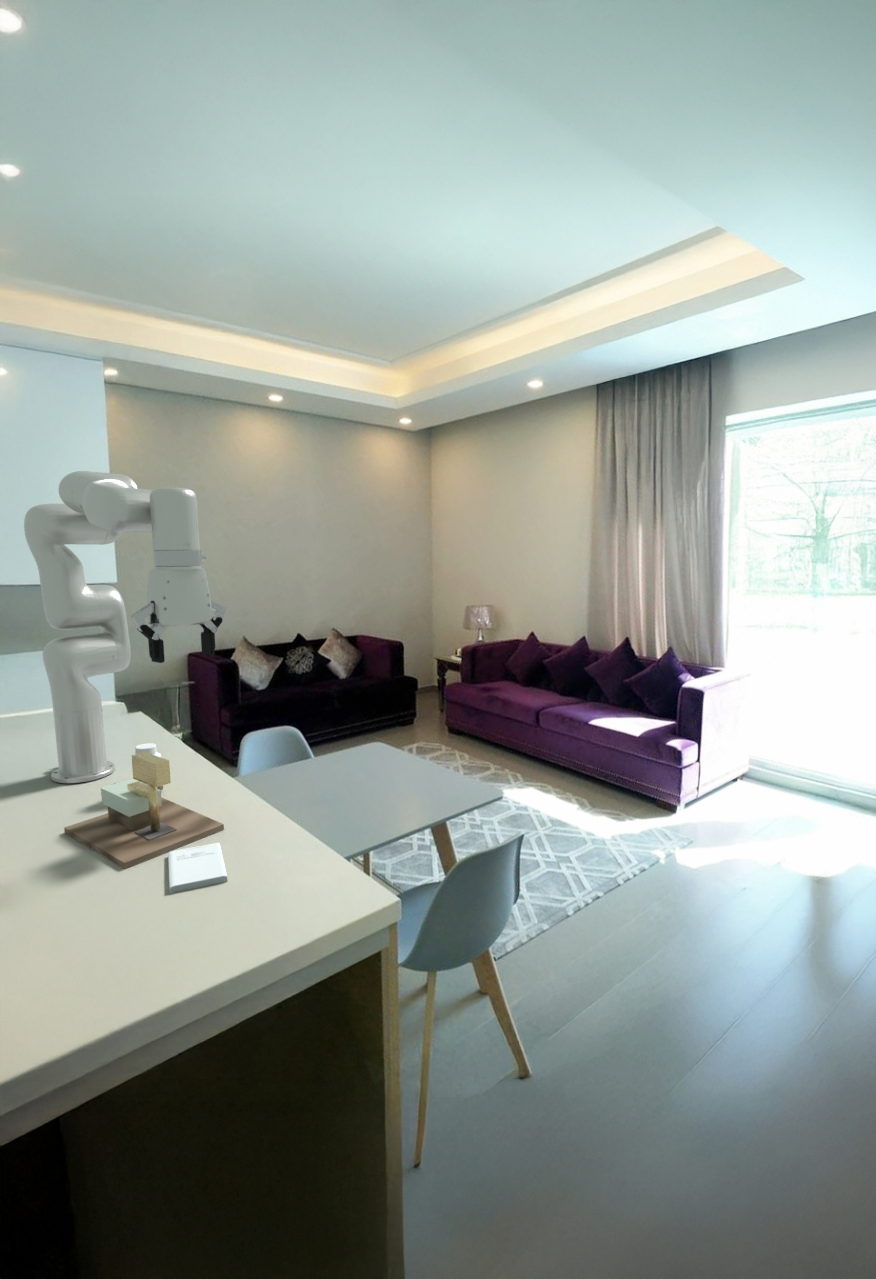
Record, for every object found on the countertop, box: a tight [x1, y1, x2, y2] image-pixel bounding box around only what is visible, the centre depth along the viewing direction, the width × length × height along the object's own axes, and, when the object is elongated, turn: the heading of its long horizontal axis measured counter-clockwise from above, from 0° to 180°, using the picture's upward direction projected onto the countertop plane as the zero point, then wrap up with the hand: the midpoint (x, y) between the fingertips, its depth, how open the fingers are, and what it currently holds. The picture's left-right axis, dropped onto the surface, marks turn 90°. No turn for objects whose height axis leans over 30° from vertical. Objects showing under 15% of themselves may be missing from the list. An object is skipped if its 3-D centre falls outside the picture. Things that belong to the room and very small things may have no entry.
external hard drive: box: [167, 842, 229, 894], centre depth 102 cm, size 2×8×12 cm
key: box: [127, 752, 172, 830], centre depth 113 cm, size 11×2×13 cm, turn 52°
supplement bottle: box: [131, 742, 164, 793], centre depth 133 cm, size 6×6×10 cm
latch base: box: [63, 796, 225, 870], centre depth 115 cm, size 22×18×4 cm
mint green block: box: [100, 778, 162, 817], centre depth 117 cm, size 10×6×3 cm, turn 52°
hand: (184, 658), depth 114 cm, fingers open, 9 cm apart
